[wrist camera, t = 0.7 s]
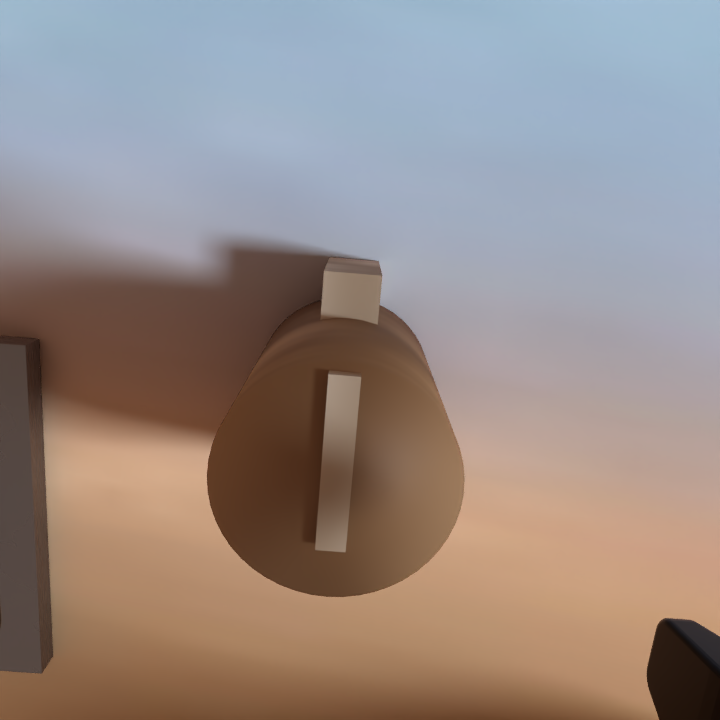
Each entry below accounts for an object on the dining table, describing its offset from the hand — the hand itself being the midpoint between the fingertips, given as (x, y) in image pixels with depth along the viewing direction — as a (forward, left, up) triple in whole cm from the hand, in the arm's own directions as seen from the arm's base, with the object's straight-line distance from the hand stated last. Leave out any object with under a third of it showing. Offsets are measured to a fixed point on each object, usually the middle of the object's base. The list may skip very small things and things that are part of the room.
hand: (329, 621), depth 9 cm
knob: (0, 0, -11) cm, 11 cm away
